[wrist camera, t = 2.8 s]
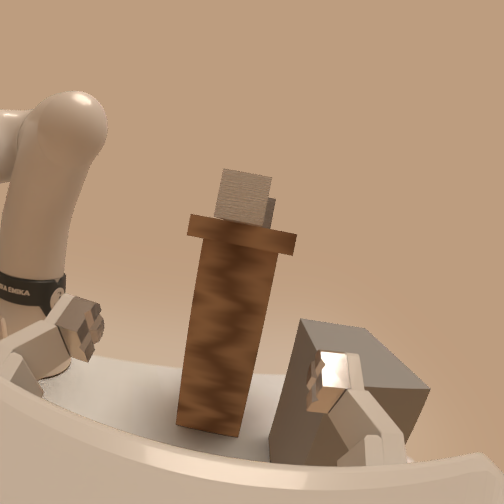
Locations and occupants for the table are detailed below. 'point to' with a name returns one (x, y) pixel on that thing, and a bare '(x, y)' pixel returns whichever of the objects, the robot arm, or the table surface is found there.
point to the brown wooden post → (226, 320)
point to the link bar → (245, 199)
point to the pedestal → (319, 424)
